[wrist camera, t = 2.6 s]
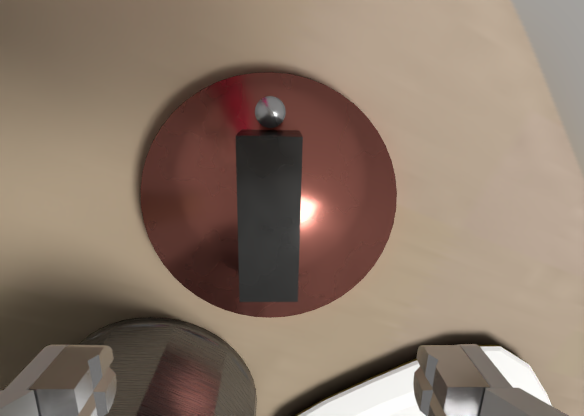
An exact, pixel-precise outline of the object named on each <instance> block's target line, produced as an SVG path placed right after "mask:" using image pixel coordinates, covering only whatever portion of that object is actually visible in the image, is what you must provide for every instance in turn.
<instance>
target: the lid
mask: <svg viewBox="0 0 584 416" xmlns="http://www.w3.org/2000/svg"><path fill="white" fill-rule="evenodd" d="M396 197H397V191H396V180H395V174H394V170H393V165H392V161H391V159H390V156H389V153H388V151H387V148H386V146H385V144H384V142H383V140H382V138H381V137H380V135H379V133H378V131H377V130H376V128H375V127H374V126H373V124H372V123H371V122H370V120H369V119H368V118H367V117H366V116H365V114H364V113H363V112H362V111H361V110H360V109H359V108H358V107H357V106H356V105H355V104H353V103H352V102H351V101H349V100H348V99H347V98H345V97H344V96H343V95H341V94H340V93H338V92H336V91H335V90H333V89H331V88H329V87H327V86H326V85H324V84H321V83H318V82H316V81H313V80H311V79H308V78H304V77H300V76H296V75H292V74H285V73H274V72H264V73H250V74H244V75H239V76H234V77H231V78H228V79H225V80H222V81H219V82H216V83H214V84H212V85H210V86H208V87H206V88H204V89H202V90H200V91H199V92H197V93H196V94H195V95H193V96H192V97H190V98H189V99H187V100H186V101H185V102H184V103H183V104H182V105H181V106H179V107H178V108H177V109H176V110H175V111H174V112H173V113H172V114H171V115H170V117H169V118H168V119H167V120H166V122H165V123H164V124H163V125H162V127H161V128H160V130H159V132H158V134H157V135H156V137H155V139H154V140H153V142H152V145H151V147H150V150H149V152H148V154H147V157H146V161H145V165H144V169H143V173H142V181H141V208H142V214H143V219H144V224H145V227H146V230H147V233H148V236H149V239H150V241H151V243H152V245H153V247H154V249H155V251H156V253H157V255H158V256H159V258H160V259H161V261H162V262H163V264H164V265H165V267H166V268H167V269H168V270H169V271H170V273H171V274H172V275H173V276H174V277H175V278H176V279H177V280H178V281H179V282H180V283H181V284H182V285H183V286H184V287H186V288H187V289H188V290H190V291H191V292H192V293H194V294H195V295H196V296H198V297H200V298H201V299H203V300H205V301H207V302H209V303H210V304H212V305H215V306H217V307H220V308H222V309H224V310H227V311H231V312H234V313H238V314H242V315H248V316H254V317H285V316H291V315H297V314H302V313H305V312H308V311H312V310H315V309H317V308H320V307H322V306H324V305H327V304H329V303H331V302H332V301H334V300H336V299H338V298H339V297H341V296H342V295H344V294H345V293H347V292H348V291H349V290H351V289H352V288H353V287H354V286H355V285H356V284H358V283H359V282H360V281H361V280H362V279H363V278H364V277H365V276H366V274H367V273H368V272H369V271H370V270H371V268H372V267H373V266H374V265H375V263H376V261H377V260H378V258H379V257H380V255H381V254H382V252H383V250H384V247H385V245H386V243H387V241H388V239H389V236H390V233H391V230H392V226H393V223H394V217H395V212H396Z"/></svg>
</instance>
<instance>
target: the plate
mask: <svg viewBox="0 0 584 416" xmlns="http://www.w3.org/2000/svg"><path fill="white" fill-rule="evenodd" d="M478 346H480V347H481V349H482V350H483V351H484V352H485V354H486V355H487V356H488V357H489V359H490V360H491V361H492V362H493V364H494V365H495V366H496V367H497V368H498V370H499V371H500V372H501V373H502V375H503V376H504V377H505V378H506V380H507V381H508V382H509V383H510V385H511V386H512V387H513V388H520V389H522V390H524V391H526V392H528V393H529V394H531V395H533V396H535V397H536V398H538V399H540V400H542V401H543V402H545V403H547V404H549V405H551V402H550V400H549V398H548V395H547V393H546V391H545V390H544V388H543V387H542V385H541V383H540V382H539V380H538V378H537V377H536V375H535V373H534V372H533V370H532V368H531V367H530V365H529V364H528V363H527V362H525V361H524V360H522V359H521V358H519V357H517V356H516V355H514V354H513V353H511V352H509V351H508V350H506V349H505V348H503V347H501V346H500V345H478ZM419 367H420V365H419V363H418V361H417V359H413V360H411V361H409V362H406V363H404V364H402V365H399V366H397V367H394V368H392V369H390V370H387V371H385V372H383V373H380V374H378V375H376V376H373V377H371V378H369V379H366V380H364V381H362V382H360V383H357V384H355V385H353V386H351V387H349V388H346V389H344V390H342V391H340V392H337V393H335V394H333V395H331V396H329V397H326V398H324V399H323V400H321V401H319V402H317V403H316V404H314V405H312V406H310V407H309V408H307V409H305V410H303V411H302V412H300V413H298V414H296V415H295V416H426V415H425V414H423V413H422V412H421V411H420V410H419V407H418V405H417V402H416V399H415V395H414V386H413V381H414V372H415V371H416V370H417V369H418V368H419ZM551 406H552V405H551Z"/></svg>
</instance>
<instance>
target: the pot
mask: <svg viewBox="0 0 584 416" xmlns="http://www.w3.org/2000/svg"><path fill="white" fill-rule="evenodd" d="M79 345H108V346H109V347H111V348H112V353H113V358H114V359H113V361H112V363H111V364H110V366H109V367H110V368H111V369H112V370H113V371H114V372H115V373H116V380H117V385H116V394H115V397H114V401H113V404H112V406H111V408H110V410H109V412H108V413H107V414H106V415H104V416H256V403H257V397H256V388H255V385H254V381H253V378H252V376H251V373H250V371H249V369H248V367H247V366H246V364H245V363H244V361H243V360H242V358H241V357H240V356H239V355H238V354H237V353H236V351H235V350H234V349H232V348H231V347H230V346H229V345H228V344H227V343H226V342H224V341H223V340H222V339H220V338H219V337H217V336H216V335H214V334H212V333H210V332H209V331H207V330H205V329H203V328H200V327H198V326H195V325H193V324H190V323H186V322H182V321H179V320H173V319H167V318H153V317H148V318H135V319H129V320H123V321H120V322H117V323H113V324H110V325H108V326H106V327H104V328H101V329H99V330H97V331H96V332H94V333H93V334H91V335H89V336H88V337H87V338H86V339H84V340H83V341H82V342H81V343H80V344H79Z"/></svg>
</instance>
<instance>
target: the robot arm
mask: <svg viewBox="0 0 584 416" xmlns="http://www.w3.org/2000/svg"><path fill="white" fill-rule="evenodd" d="M113 359H114V358H113V353H112V348H111V347H109V346H108V345H49V346H46V347H44V348H43V349H42V351H41V352H40V353H39V354H38V355H37V356H36V357H35V358H34V359H33V360H32V361H31V362H30V363H29V364H28V365H27V366H26V367H25V368H24V369H23V370H22V371H21V373H20V374H19V375H18V376H17V377H16V378H15V379H14V380H13V381H12V382H11V383H10V384H9V385H8V386H7V387H6V388H5V389H4V390H0V416H104V415H106V414H107V413H108V412H109V410H110V408H111V406H112V404H113V401H114V397H115V394H116V385H117V380H116V373H115V372H114V371H113V370H112V369H111V368H110V367H109V366H110V364H111V363H112V361H113ZM416 359H417V361H418V363H419V365H420V367H419V368H418V369H417V370H416V371H415V372H414V381H413V386H414V395H415V399H416V402H417V405H418V407H419V410H420V411H421V412H422V413H423V414H425V415H426V416H568V415H567V414H565V413H563V412H561V411H559V410H558V409H556V408H554V407H552V406H551V405H549V404H547V403H545V402H543V401H542V400H540V399H538V398H536V397H535V396H533V395H531V394H529V393H528V392H526V391H524V390H522V389H520V388H513V387H512V386H511V385H510V383H509V382H508V381H507V380H506V378H505V377H504V376H503V375H502V373H501V372H500V371H499V370H498V368H497V367H496V366H495V365H494V364H493V362H492V361H491V360H490V359H489V357H488V356H487V355H486V354H485V352H484V351H483V350H482V349H481V347H480V346H478V345H476V344H457V345H420V346H419V348H418V350H417V357H416Z"/></svg>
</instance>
